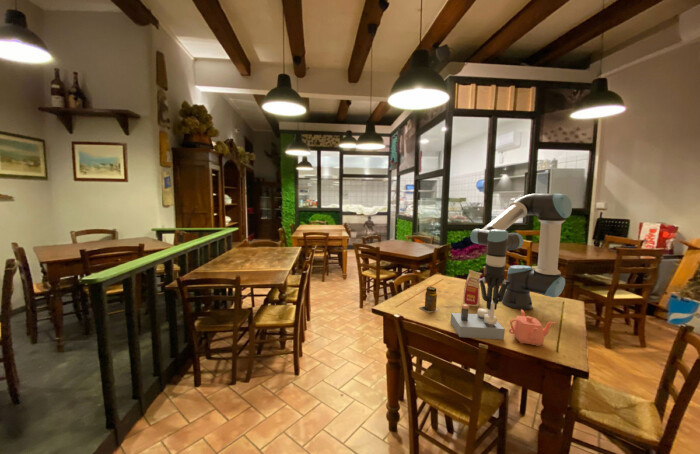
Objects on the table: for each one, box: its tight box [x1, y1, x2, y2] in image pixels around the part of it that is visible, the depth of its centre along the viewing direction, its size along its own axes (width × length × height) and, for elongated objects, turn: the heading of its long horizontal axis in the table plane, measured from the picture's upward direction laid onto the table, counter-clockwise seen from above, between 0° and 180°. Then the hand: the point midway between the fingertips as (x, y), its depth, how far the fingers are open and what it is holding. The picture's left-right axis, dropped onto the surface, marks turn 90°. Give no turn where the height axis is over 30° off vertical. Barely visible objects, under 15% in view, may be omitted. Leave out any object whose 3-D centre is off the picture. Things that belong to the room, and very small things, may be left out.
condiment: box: [419, 286, 440, 314], centre depth 150 cm, size 7×8×12 cm
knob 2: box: [484, 314, 498, 327], centre depth 122 cm, size 5×5×8 cm
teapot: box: [508, 309, 556, 346], centre depth 119 cm, size 14×14×11 cm
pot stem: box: [460, 303, 470, 321], centre depth 127 cm, size 3×3×7 cm
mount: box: [450, 312, 506, 341], centre depth 127 cm, size 19×14×5 cm
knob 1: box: [476, 307, 488, 319], centre depth 130 cm, size 5×5×8 cm
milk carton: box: [462, 269, 483, 308], centre depth 159 cm, size 9×9×20 cm
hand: (490, 315), depth 122 cm, fingers closed
